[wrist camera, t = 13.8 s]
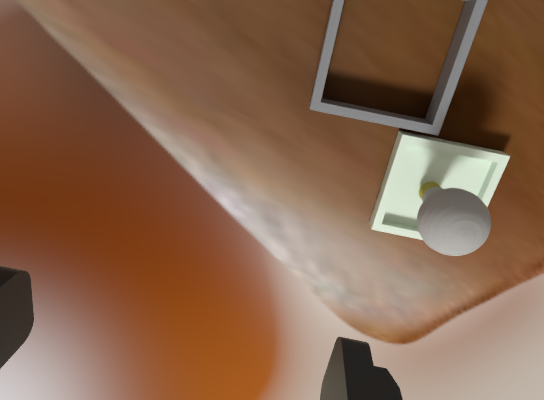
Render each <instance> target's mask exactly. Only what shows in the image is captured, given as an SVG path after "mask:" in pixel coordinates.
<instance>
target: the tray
mask: <svg viewBox="0 0 544 400" xmlns="http://www.w3.org/2000/svg"><path fill="white" fill-rule="evenodd" d="M509 158H510V156H509V155H507V154H506V153H504V152H503V151H498V150H493V149H488V148H483V147H478V146H473V145H469V144H464V143H459V142H454V141H449V140H444V139H439V138H434V137H429V136H424V135H419V134H414V133H409V132H404V131H400V130H399V131H398V134H397V138H396V141H395V144H394V147H393V150H392V153H391V156H390V159H389V162H388V166H387V169H386V172H385V175H384V178H383V181H382V184H381V187H380V191H379V194H378V197H377V200H376V203H375V206H374V209H373V212H372V215H371V219H370V222H369V223H370V226H371V229H372V230H377V231H382V232H386V233H391V234H396V235H401V236H406V237H411V238H416V239H421V240H423V238H422V237H421V235H420V233H419V231H418V226H417V214H418V211H419V208H420V206H421V205H422V203H423V202H422V199H421V198H420V196H419V190H420V188H421V186H422V185H423V184H425V183H427V182H436V183H437V184H438V185H439V186H440V187H441V188H443V189H447V188H459V189H463V190H466V191H469V192H471V193H473V194H475V195H476V196H478V197H479V198H480V199H481V200H482V202H483V203H484V204H485V205H486V206H487V207H488V205H489V202H490V200H491V198H492V196H493V193H494V191H495V189H496V187H497V185H498V182H499V180H500V178H501V176H502V174H503V171H504V169H505V167H506V165H507V162H508V160H509Z"/></svg>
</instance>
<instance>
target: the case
mask: <svg viewBox="0 0 544 400" xmlns="http://www.w3.org/2000/svg"><path fill="white" fill-rule="evenodd" d="M462 1H465V4H464V7H463V10H462V13H461V16H460V19H459V21H458V24H457V27H456V30H455V33H454V36H453V39H452V42H451V45H450V48H449V50H448V53H447V56H446V59H445V62H444V65H443V68H442V71H441V74H440V77H439V79H438V82H437V85H436V88H435V91H434V94H433V97H432V100H431V103H430V106H429V108H428V111H427V114H426V117H425V119H422V118H417V117H412V116H407V115H402V114H397V113H392V112H388V111H383V110H378V109H373V108H368V107H363V106H358V105H353V104H348V103H343V102H338V101H333V100H328V99H323V98H322V94H323V90H324V85H325V81H326V77H327V72H328V68H329V64H330V59H331V55H332V51H333V46H334V42H335V38H336V33H337V29H338V25H339V20H340V16H341V12H342V7H343V3H344V0H333V1H332V5H331V10H330V14H329V19H328V23H327V28H326V32H325V37H324V41H323V46H322V50H321V55H320V60H319V64H318V69H317V73H316V78H315V82H314V87H313V91H312V96H311V100H310V110H315V111H319V112H324V113H329V114H334V115H339V116H344V117H349V118H354V119H359V120H364V121H369V122H374V123H379V124H384V125H388V126H393V127H398V128H403V129H408V130H413V131H418V132H423V133H428V134H433V135H439V132H440V130H441V127H442V124H443V121H444V119H445V116H446V113H447V110H448V108H449V105H450V102H451V99H452V97H453V94H454V91H455V88H456V86H457V83H458V80H459V77H460V75H461V72H462V69H463V67H464V64H465V61H466V58H467V56H468V53H469V50H470V47H471V45H472V42H473V39H474V36H475V34H476V31H477V28H478V25H479V23H480V20H481V17H482V14H483V12H484V9H485V6H486V4H487V1H488V0H462Z"/></svg>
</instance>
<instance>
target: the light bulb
mask: <svg viewBox="0 0 544 400" xmlns="http://www.w3.org/2000/svg"><path fill="white" fill-rule="evenodd" d="M419 196H420V198H421V199H422V202H423V203H422V205H421V206H420V208H419V211H418V214H417V226H418V231H419V233H420V235H421V237H422V238H423V240H424V242H425V243H426V244H427V245H428V246H429V247H430V248H432V249H434V250H435V251H437V252H439V253H442V254H445V255H451V256H460V255H465V254H468V253H471V252H473V251H475V250H476V249H478V248H479V247H480V246H481V245H482V244H483V243H484V242H485V241H486V239H487V237H488V235H489V232H490V228H491V218H490V213H489V210H488V208H487V206H486V205H485V204H484V203H483V202H482V200H481V199H480V198H479V197H478V196H476V195H475V194H473V193H471V192H469V191H466V190H463V189H459V188H447V189H443V188H441V187H440V186H439V185H438V184H437V183H436V182H427V183H425V184H423V185H422V186H421V188H420V190H419Z"/></svg>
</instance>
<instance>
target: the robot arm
mask: <svg viewBox="0 0 544 400" xmlns="http://www.w3.org/2000/svg"><path fill="white" fill-rule="evenodd" d="M33 321H34V314H33V302H32V290H31V279H30V275H29V273H28V272H26V271H23V270H18V269H13V268H8V267H3V266H0V368H1V367H2V366H3V365H4V364H5V363H6V362H7V361H8V359H10V357H11V356H12V355H13V354H14V353H15V352H16V351H17V350H18V349H19V348H20V346H21V345H22V344H23V343H24V342H25V340H26V339H27V337H28V336H29V333H30V332H31V329H32V326H33ZM320 400H402V396H401V392H400V388H399V386H398V385H397V383H396V382H395V380H394V379H393V377H392V376H391V374H390V373H389V371H388V370H387V369H386V368H381V367H376V366H373V361H372V356H371V351H370V347H369V344H368V343H367V342H362V341H358V340H353V339H348V338H343V337H338V338H337V340H336V342H335V345H334V349H333V351H332V354H331V357H330V360H329V363H328V367H327V370H326V373H325V376H324V379H323V383H322V389H321V396H320Z"/></svg>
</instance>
